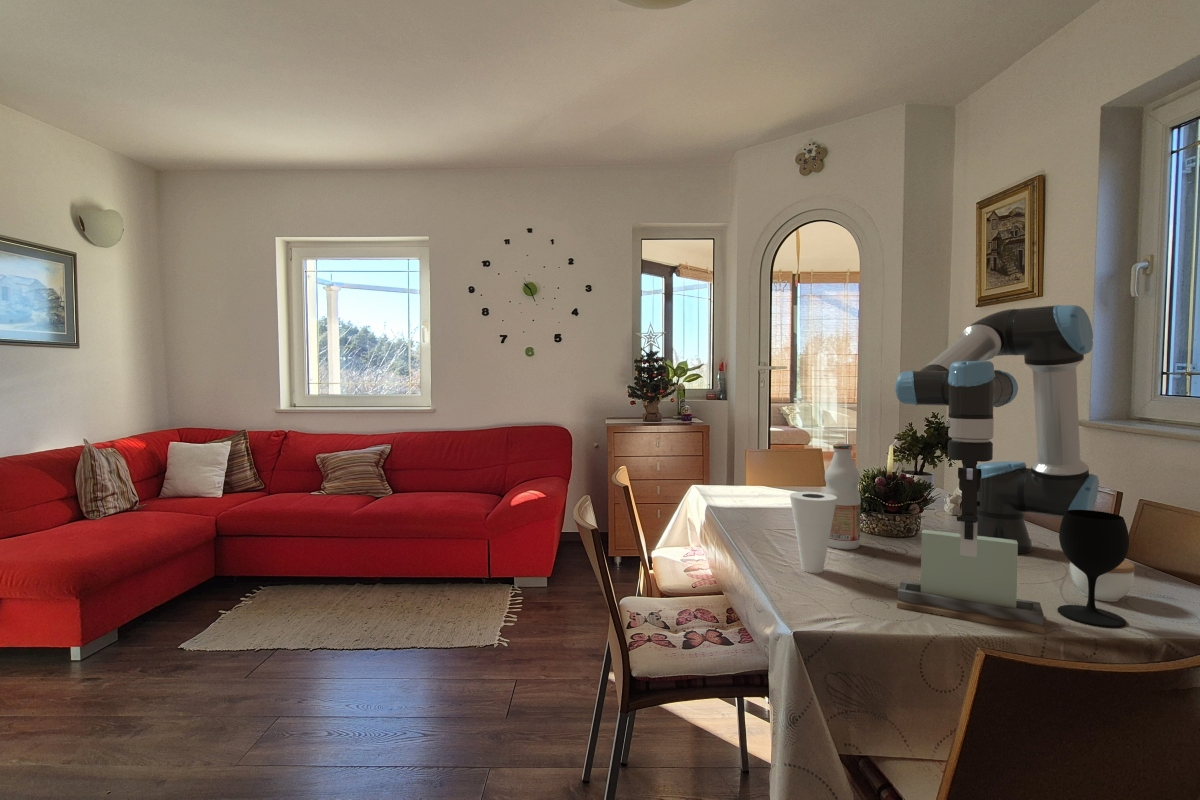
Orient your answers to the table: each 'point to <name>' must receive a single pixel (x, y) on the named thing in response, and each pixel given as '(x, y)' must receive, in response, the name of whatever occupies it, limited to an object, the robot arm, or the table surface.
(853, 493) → the fruit juice
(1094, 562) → the wine glass
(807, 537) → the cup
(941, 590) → the door panel
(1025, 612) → the door track
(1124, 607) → the table surface
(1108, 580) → the lidded jar
